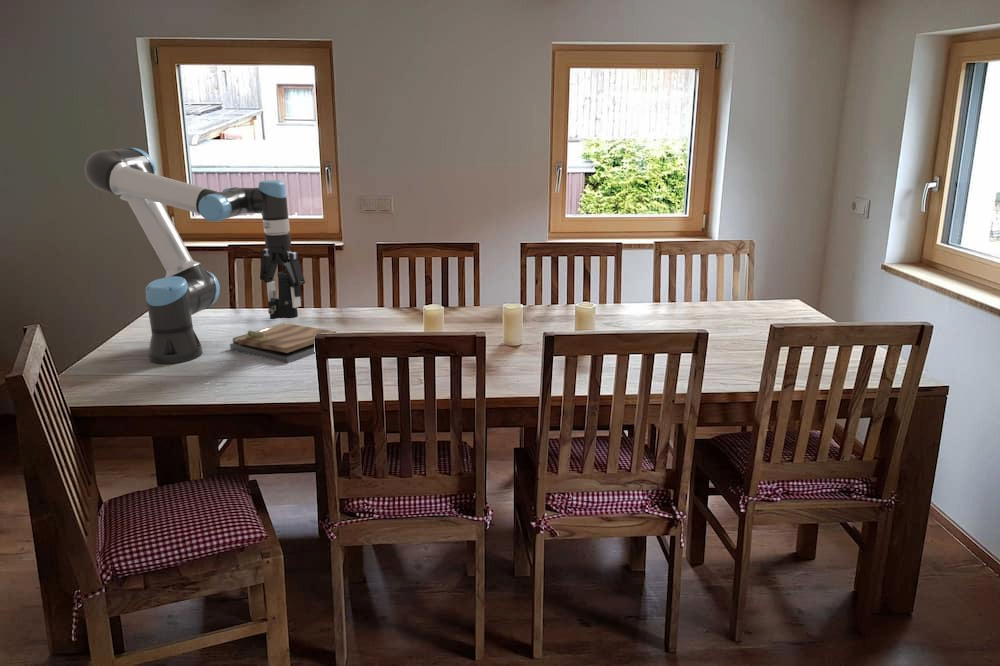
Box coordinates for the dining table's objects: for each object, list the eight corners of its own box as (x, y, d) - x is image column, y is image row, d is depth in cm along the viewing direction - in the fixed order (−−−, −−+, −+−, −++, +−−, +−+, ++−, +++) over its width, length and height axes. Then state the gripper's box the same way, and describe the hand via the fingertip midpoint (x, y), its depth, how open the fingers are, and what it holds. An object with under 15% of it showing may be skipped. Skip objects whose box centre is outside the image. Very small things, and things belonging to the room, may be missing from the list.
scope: (269, 270, 245) (302, 269, 246) (274, 313, 249) (306, 312, 249) (263, 276, 237) (297, 274, 238) (268, 320, 241) (301, 319, 242)
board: (238, 343, 246) (237, 332, 245) (288, 328, 262) (287, 317, 261) (287, 353, 234) (285, 340, 233) (336, 335, 250) (335, 324, 249)
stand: (230, 349, 248) (229, 338, 247) (285, 331, 265) (284, 321, 264) (287, 363, 234) (286, 351, 232) (341, 343, 251) (340, 332, 250)
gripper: (242, 232, 242) (250, 303, 248) (293, 237, 229) (301, 312, 236) (261, 228, 248) (269, 297, 254) (313, 233, 235) (319, 306, 242)
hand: (284, 304), depth 245 cm, fingers closed on scope, 10 cm apart
